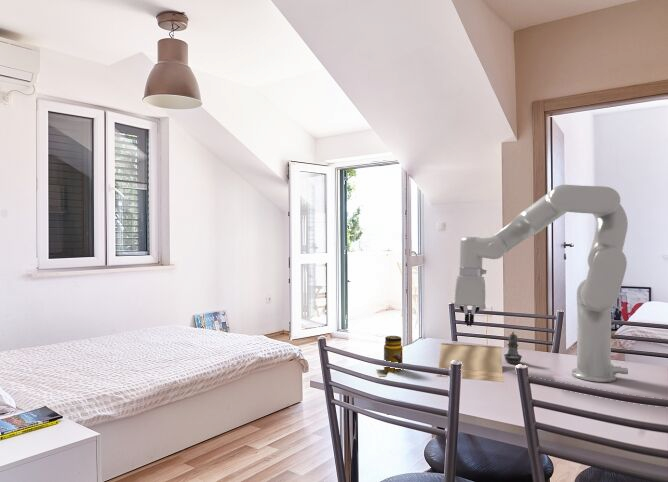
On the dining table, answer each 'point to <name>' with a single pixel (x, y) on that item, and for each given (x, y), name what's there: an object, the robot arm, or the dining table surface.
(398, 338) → the condiment
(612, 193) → the robot arm
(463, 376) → the laid floor planks
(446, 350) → the board
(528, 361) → the dining table surface
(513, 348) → the dark grey tall piece
